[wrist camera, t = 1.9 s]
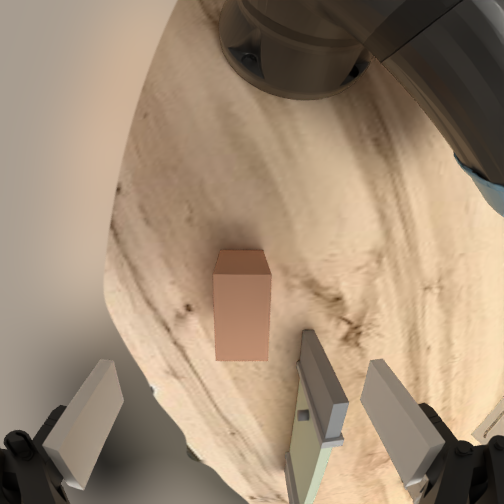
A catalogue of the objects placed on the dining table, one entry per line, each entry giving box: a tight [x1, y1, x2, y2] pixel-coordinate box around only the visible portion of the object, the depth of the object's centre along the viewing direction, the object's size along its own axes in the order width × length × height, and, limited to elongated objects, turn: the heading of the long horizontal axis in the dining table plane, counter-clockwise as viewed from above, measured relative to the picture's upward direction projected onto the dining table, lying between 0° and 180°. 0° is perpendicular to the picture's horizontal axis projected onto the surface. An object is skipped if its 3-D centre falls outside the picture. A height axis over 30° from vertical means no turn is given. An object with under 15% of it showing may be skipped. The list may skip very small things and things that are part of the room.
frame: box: [284, 330, 349, 504], centre depth 27 cm, size 26×2×12 cm, turn 179°
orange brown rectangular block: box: [213, 250, 271, 361], centre depth 25 cm, size 7×4×8 cm, turn 179°
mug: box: [403, 474, 428, 504], centre depth 33 cm, size 8×12×12 cm, turn 21°
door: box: [289, 380, 332, 504], centre depth 27 cm, size 15×2×11 cm, turn 179°
